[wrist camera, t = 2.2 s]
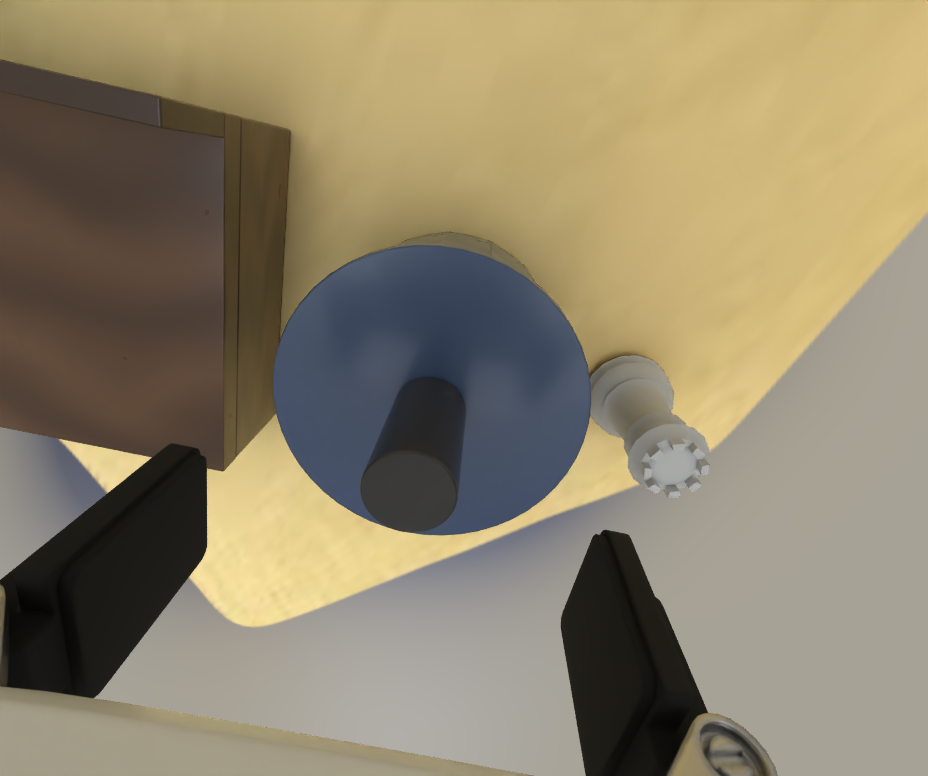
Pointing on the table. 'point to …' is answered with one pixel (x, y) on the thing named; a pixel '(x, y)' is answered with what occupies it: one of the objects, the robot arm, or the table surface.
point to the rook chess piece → (648, 424)
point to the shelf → (137, 266)
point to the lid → (432, 389)
